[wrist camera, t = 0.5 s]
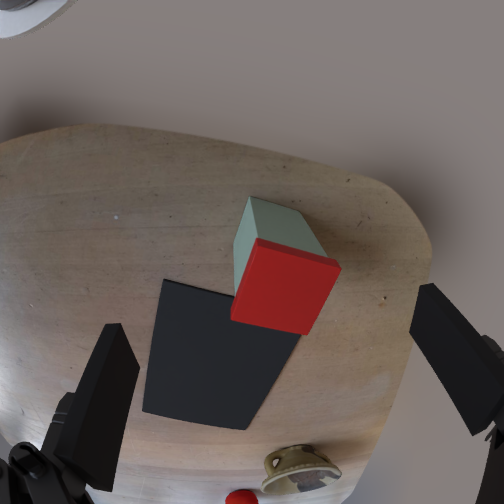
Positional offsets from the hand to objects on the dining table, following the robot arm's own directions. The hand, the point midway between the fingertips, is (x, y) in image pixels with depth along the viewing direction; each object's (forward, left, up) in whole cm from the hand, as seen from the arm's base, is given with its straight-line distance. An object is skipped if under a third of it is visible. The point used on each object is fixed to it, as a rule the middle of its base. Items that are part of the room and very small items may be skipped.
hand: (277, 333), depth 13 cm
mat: (+28, -7, -23) cm, 37 cm away
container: (+5, +2, -23) cm, 24 cm away
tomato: (+86, -8, -24) cm, 89 cm away
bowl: (+59, +7, -24) cm, 63 cm away
